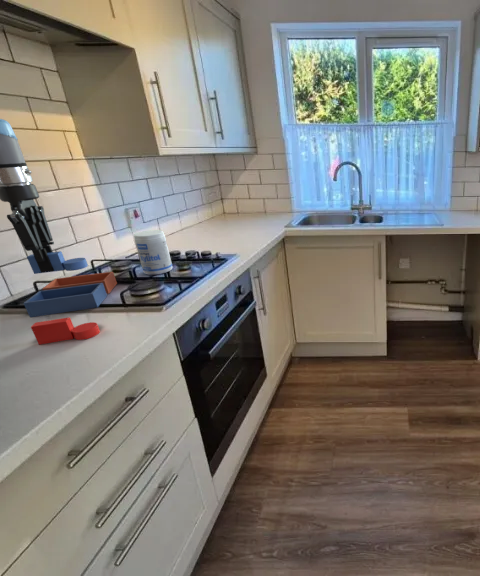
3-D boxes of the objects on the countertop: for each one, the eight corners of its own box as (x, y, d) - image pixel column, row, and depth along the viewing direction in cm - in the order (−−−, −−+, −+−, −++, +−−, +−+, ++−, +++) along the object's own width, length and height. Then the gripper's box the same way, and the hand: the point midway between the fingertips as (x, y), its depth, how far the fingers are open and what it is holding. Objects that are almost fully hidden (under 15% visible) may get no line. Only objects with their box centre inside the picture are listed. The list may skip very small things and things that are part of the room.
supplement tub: (142, 277, 130) (130, 237, 124) (145, 269, 137) (134, 231, 132) (173, 272, 133) (162, 233, 128) (174, 265, 141) (164, 228, 136)
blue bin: (29, 317, 102) (23, 303, 100) (44, 304, 110) (39, 291, 108) (97, 307, 107) (92, 293, 105) (107, 295, 115) (102, 282, 113)
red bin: (47, 302, 112) (41, 288, 110) (60, 291, 119) (55, 278, 118) (109, 293, 117) (104, 280, 115) (117, 283, 125) (113, 271, 123)
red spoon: (36, 347, 87) (27, 329, 85) (45, 337, 91) (38, 319, 89) (96, 337, 91) (89, 319, 89) (102, 328, 95) (96, 311, 93)
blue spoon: (31, 275, 99) (23, 258, 97) (40, 269, 104) (33, 253, 102) (84, 269, 103) (77, 252, 101) (90, 263, 108) (84, 247, 106)
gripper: (16, 187, 88) (54, 276, 97) (46, 180, 101) (76, 259, 110) (-23, 189, 85) (19, 281, 95) (12, 182, 99) (46, 263, 108)
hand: (50, 269), depth 103 cm, fingers closed on blue spoon, 2 cm apart
